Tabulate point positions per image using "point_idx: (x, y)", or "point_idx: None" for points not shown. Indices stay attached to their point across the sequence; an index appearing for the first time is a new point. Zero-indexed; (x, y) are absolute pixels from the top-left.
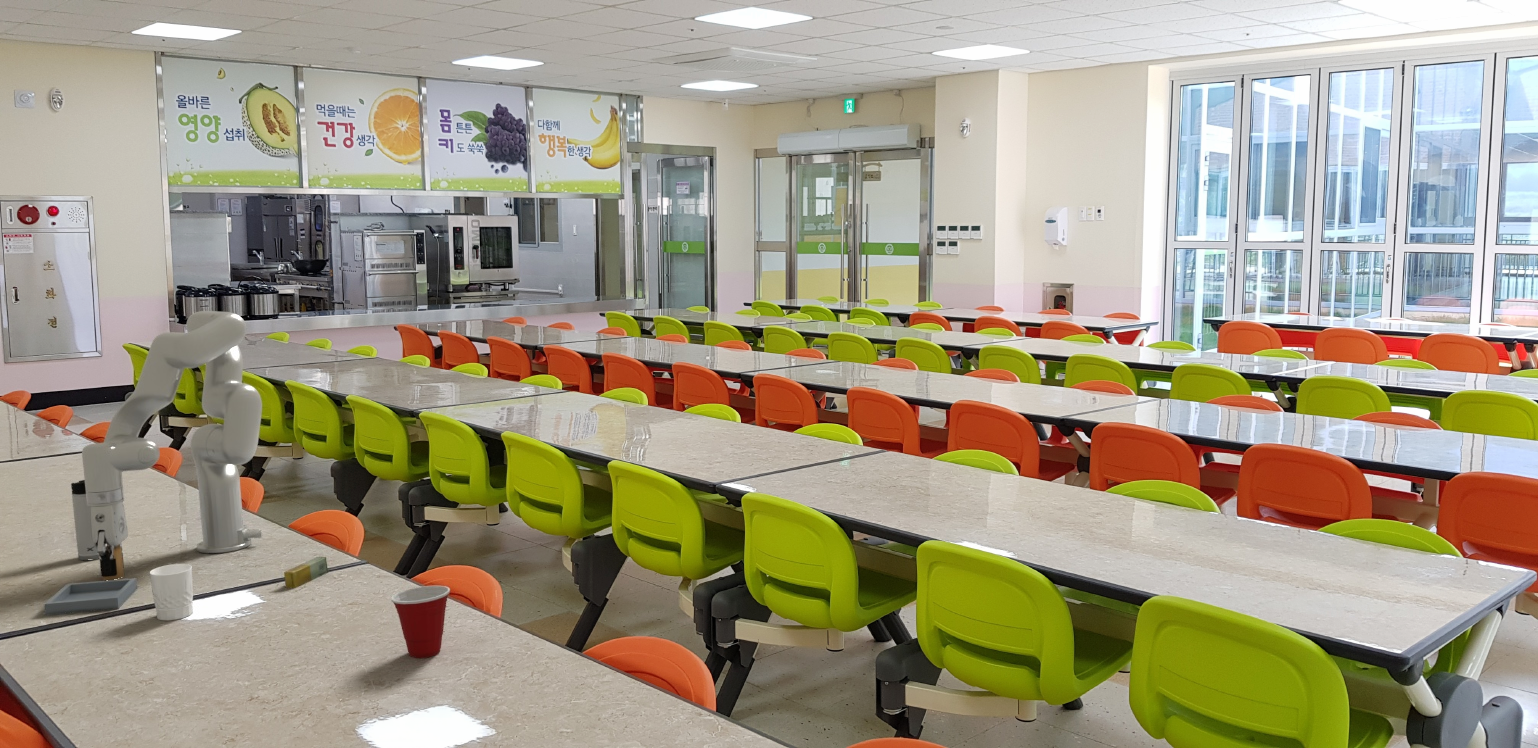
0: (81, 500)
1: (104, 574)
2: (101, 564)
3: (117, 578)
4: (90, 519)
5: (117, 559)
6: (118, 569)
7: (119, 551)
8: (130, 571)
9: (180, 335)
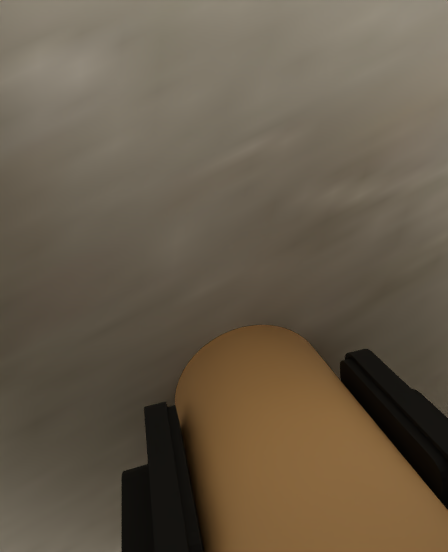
0: None
1: None
2: None
3: (307, 342)
4: None
5: (395, 454)
6: (328, 378)
7: (425, 540)
8: (79, 355)
9: None
